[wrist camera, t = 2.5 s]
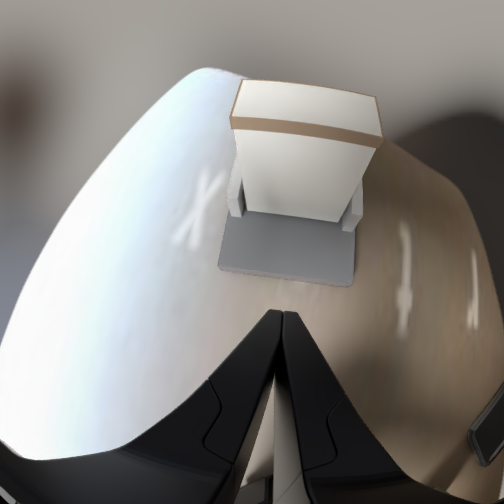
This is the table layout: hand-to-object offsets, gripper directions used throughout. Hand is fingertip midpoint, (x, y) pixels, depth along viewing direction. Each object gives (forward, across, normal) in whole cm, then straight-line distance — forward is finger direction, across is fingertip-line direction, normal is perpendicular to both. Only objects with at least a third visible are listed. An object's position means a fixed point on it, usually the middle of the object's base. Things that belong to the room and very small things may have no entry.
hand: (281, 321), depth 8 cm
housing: (+16, 0, +2) cm, 16 cm away
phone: (+4, -28, +15) cm, 32 cm away
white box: (+15, 0, 0) cm, 15 cm away
